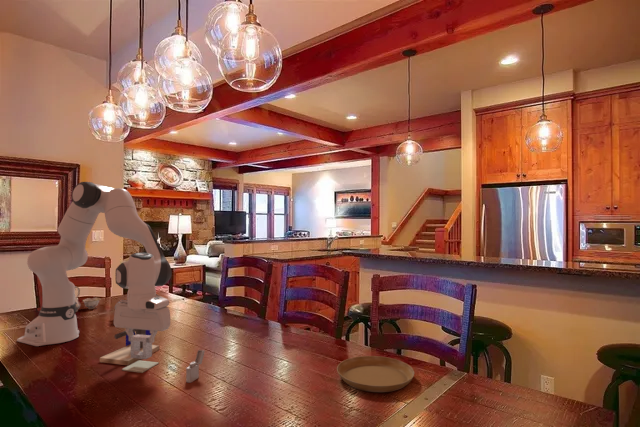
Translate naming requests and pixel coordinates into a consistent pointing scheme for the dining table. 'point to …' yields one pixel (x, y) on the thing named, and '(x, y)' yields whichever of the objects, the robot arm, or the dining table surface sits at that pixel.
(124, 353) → the hook rack
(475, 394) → the dining table surface
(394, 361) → the plant saucer
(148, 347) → the pinkish grey hollow block
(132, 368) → the felt pad
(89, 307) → the chinaware
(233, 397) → the dining table surface
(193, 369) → the lighter
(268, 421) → the dining table surface
